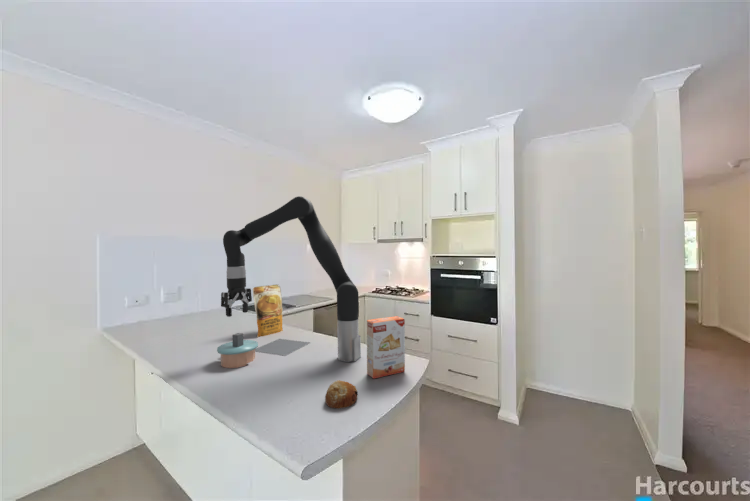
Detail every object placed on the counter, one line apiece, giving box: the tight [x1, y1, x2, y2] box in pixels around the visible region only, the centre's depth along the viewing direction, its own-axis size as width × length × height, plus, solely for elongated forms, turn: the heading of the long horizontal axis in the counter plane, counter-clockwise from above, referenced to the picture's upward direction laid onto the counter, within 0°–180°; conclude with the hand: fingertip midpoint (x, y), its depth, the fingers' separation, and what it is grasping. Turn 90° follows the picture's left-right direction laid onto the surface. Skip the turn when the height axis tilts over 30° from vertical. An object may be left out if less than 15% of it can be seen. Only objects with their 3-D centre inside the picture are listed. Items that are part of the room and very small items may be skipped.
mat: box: [255, 338, 311, 357], centre depth 146 cm, size 20×20×1 cm
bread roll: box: [324, 380, 359, 410], centre depth 94 cm, size 10×10×8 cm
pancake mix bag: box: [252, 284, 284, 338], centre depth 170 cm, size 7×19×28 cm, turn 141°
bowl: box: [220, 349, 256, 369], centre depth 129 cm, size 13×13×6 cm
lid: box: [216, 332, 259, 355], centre depth 129 cm, size 16×16×6 cm
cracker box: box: [366, 315, 406, 379], centre depth 115 cm, size 14×6×21 cm, turn 117°
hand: (237, 314), depth 129 cm, fingers open, 8 cm apart
